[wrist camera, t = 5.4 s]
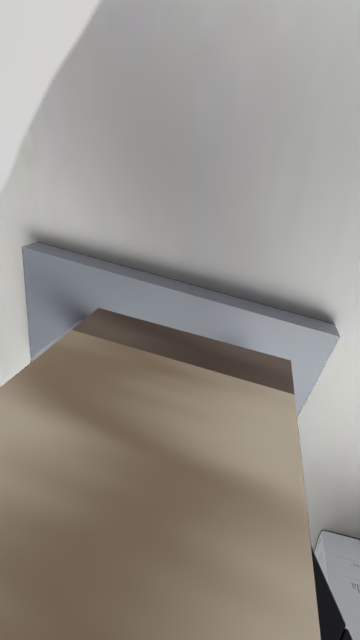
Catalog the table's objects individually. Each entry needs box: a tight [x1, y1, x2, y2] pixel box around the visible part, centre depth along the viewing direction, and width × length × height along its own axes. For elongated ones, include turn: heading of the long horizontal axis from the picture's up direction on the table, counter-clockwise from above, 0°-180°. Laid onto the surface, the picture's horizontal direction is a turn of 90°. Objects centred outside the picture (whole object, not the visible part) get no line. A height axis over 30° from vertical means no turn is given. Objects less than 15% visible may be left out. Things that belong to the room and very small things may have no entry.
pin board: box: [22, 242, 340, 417], centre depth 19 cm, size 20×10×6 cm, turn 79°
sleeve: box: [0, 308, 321, 640], centre depth 7 cm, size 6×6×7 cm
